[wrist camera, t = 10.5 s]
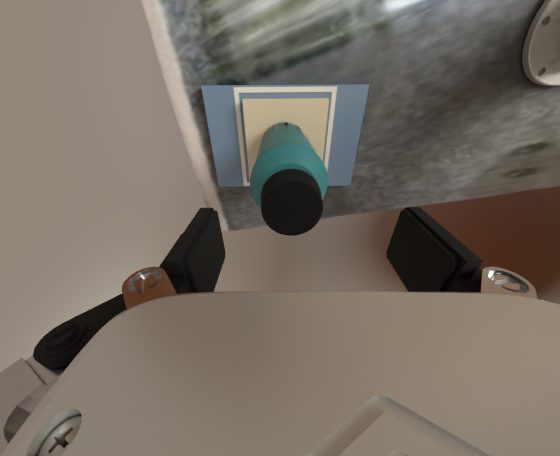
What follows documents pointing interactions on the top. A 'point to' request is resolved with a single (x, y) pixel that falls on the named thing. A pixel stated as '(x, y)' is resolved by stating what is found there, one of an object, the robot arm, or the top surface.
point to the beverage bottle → (288, 180)
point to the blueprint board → (230, 139)
